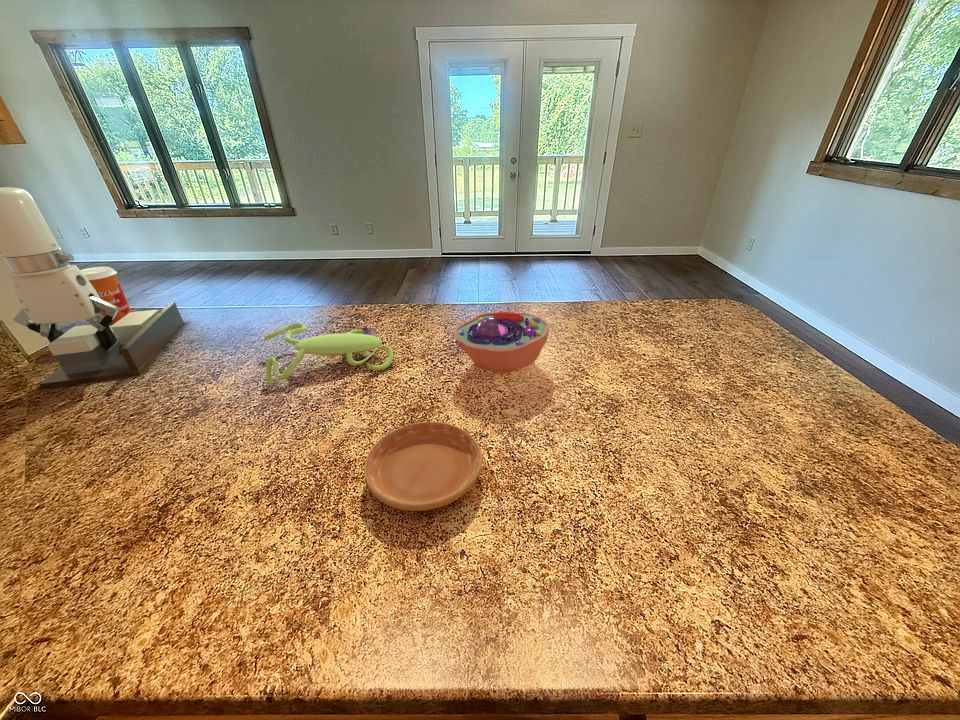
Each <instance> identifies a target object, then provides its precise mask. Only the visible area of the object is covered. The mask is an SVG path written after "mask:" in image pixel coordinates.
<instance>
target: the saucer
mask: <svg viewBox="0 0 960 720" xmlns="http://www.w3.org/2000/svg"><path fill="white" fill-rule="evenodd" d="M482 465H483V453H482V449H481V447H480V444H479V442H478V441H477V440H476V439H475V438H474V436H473V435H472V434H471V433H469V432H468V431H466V430H465V429H463V428H461V427H459V426H457V425H455V424H452V423H447V422H442V421H420V422H413V423H410V424H407V425H403V426H401V427H398V428H396V429H393V430H392V431H390V432H388V433H386V434H385V435H384V436H383V437H381V438H380V439H379V440H377V442H376V443H374V445H373V446H372V447H371V449H370V451H369V452H368V453H367V455H366V459H365V461H364V465H363V466H364V467H363V468H364V469H363V474H364V479H365V482H366V484H367V487H368V489H369V490H370V492H371V494H372V495H373V496H374V497H375V498H376V499H378V500H379V501H380V502H382V503H383V504H384V505H386V506H389V507H391V508H394V509H398V510H402V511H411V512H423V511H424V512H425V511H430V510H434V509H438V508H442V507H445V506H448V505H449V504H452V503H454V502H455V501H457V500H459V499H460V498H461V497H463V496H464V495H465V494H466V493H467V492H469V491H470V490H471V488H473V486H474V485H475V484H476V482H477V480H478V479H479V476H480V473H481V470H482Z"/></svg>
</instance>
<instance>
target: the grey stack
mask: <svg viewBox="0 0 960 720" xmlns="http://www.w3.org/2000/svg"><path fill="white" fill-rule="evenodd" d="M113 334H114V333H113ZM114 336H115V335H114ZM115 338H116V337H115ZM121 348H122V346H121V344H120V342H119V341H118V340H117V338H116V343H115V344H114V345H113V346H112V347H111V348H110V349H105V348H104V347H103V345H102V343H100V344H99V345H98V346H96V347H95V348H94V349H93V350H92V351H86V352H78V353H70V354H62V355H54V357H55V359H56V360H57V362H58V364H59V366H60V367H61V368H62V369H63V371H64V372H65V374H66V375H69V374H76V373H84V372H91V371H99V370H103V369H104V368H105V367H106V366H107V365H108V364H109V363H110V362H111V361H113V360H114V359H115V358H116V357H117V356H118V355H119V354H120V353H121V351H120V349H121Z"/></svg>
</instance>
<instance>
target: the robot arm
mask: <svg viewBox="0 0 960 720" xmlns="http://www.w3.org/2000/svg"><path fill="white" fill-rule="evenodd" d="M47 223H48V222H47V221H46V219H45V218H44V216H43V214H42V212H41V211H40V209H39V207H38V205H37V204H36V202H35V199H34V198H33V196H32V195H31V194H30V193H29V192H28V191H26V190H25V189H23V188H19V187H12V186H11V187H8V186H6V187H0V258H1V260H2V262H4V264H5V266H6V267H7V269H8V270H9V273H7V275H8V279H9V282H10V286H11V288H12V291H13V293H14V295H15V297H16V299H17V301H18V304H19V305H20V306H21V309H20V310H19V312H18V313H16V315H15V317H14V318H13V321H14V322H15V323H17V324H19V325H21V326H22V327H23V326H24V327H27V329H28V330H30V331H32V332H35V333H38V334H39V335H40V336H41V337H43V338H47V340H48V342H49V344H50V343H51V342H53V341H54V340H56V339H57V338H58V337H60V336H61V335H63V334H64V333H65V332H64V331H62V330H61V329H60V330H58V324H64V323H72V322H80V321H81V322H82V321H85V322H87V324H89V325H92V326H94V327H95V328H96V329H98V331H96V335H97V336H98V338H99V340H100V342H101V343H102V345H103V347H104V348H105V349H110V348H111V347H112V346H113V345H114V344H115V343H116V338H115V336H114V334H113V332H112V331H111V329H110V327H109V326H110V325H111V323H112V321H113V320H114V318H115V315H116V314H117V312H118V310H119V308H118V307H117V306H115V305H113V304H110V303H108V302H106V301H103V300H101V298H100V297H99V295H98V294H97V292H96V290H95V289H94V287H93V286H92V285H91V283H90V282H89V280H88V279H87V278H86V277H85V275H84V274H83V273H82V272H81V271H80V270H81V269H80V268H79V267H78V266H77V265H76V264H70V262H74V260H75V257H74V255H73V254H72V253H65V252H64V250H63V249H62V248H61V247H60V245H59V244H58V241H57V239H56V238H55V236H54V234H53V232H52V231H51V229H50V226H49V225H48V224H47ZM104 310H105V311H106V315H105V317H104V316H102V315H101V314H100V313H99V312H102V311H104Z"/></svg>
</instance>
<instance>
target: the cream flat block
mask: <svg viewBox="0 0 960 720" xmlns="http://www.w3.org/2000/svg"><path fill="white" fill-rule="evenodd" d="M109 327H110V329H111V331H112V332H114V331H113V329H112V327H111V326H109ZM96 331H98V329H96V328H95V327H94V326H92V325H91V324H85V325H75V326H73V327H71V328H70V329H68V330H67V331H66V332H63V333H64V334H63V335H61V336H60V337H58V338H57V339H56V340H54V341H53V342H51V343H50V342H49V343H48V344H47V345H46V347H47V349H48V350H49V351H50V353H51V354H52V356H55V355H62V354H70V353H78V352H86V351H92V350H93V349H94V348H95V347H96V346H98V345H99V344H100V343H101V342H100V340H99V338H98V336H97V335H96Z"/></svg>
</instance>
